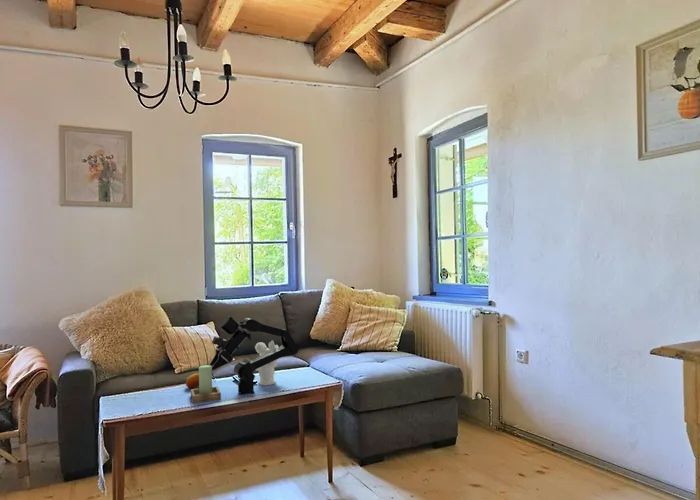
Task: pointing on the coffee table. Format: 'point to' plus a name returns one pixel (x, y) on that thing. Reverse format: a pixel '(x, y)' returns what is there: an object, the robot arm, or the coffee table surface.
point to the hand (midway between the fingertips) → (211, 367)
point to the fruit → (193, 381)
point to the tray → (205, 395)
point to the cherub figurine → (268, 369)
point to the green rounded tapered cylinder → (205, 379)
